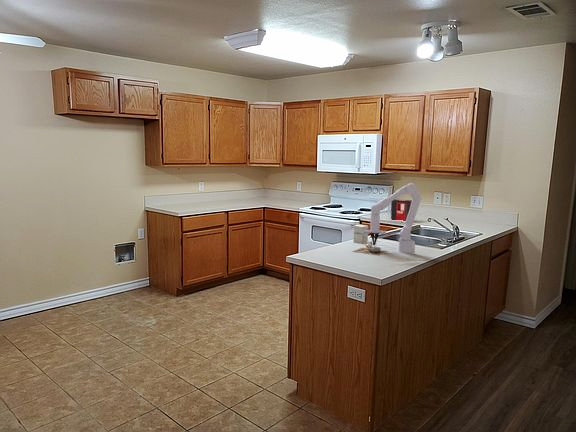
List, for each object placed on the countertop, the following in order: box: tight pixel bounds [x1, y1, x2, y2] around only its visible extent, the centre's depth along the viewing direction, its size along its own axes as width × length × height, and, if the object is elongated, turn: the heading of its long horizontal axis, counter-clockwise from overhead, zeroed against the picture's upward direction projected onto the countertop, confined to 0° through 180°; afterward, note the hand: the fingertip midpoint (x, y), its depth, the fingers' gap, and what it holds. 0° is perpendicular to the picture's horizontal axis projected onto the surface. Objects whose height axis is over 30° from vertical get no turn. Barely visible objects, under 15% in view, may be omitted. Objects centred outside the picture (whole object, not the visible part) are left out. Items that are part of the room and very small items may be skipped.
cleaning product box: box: [390, 199, 413, 221], centre depth 406 cm, size 16×9×20 cm, turn 65°
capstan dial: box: [365, 240, 382, 253], centre depth 275 cm, size 14×7×5 cm, turn 17°
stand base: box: [352, 247, 389, 257], centre depth 274 cm, size 18×15×1 cm
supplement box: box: [353, 224, 369, 245], centre depth 305 cm, size 7×7×13 cm
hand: (374, 244), depth 278 cm, fingers closed
